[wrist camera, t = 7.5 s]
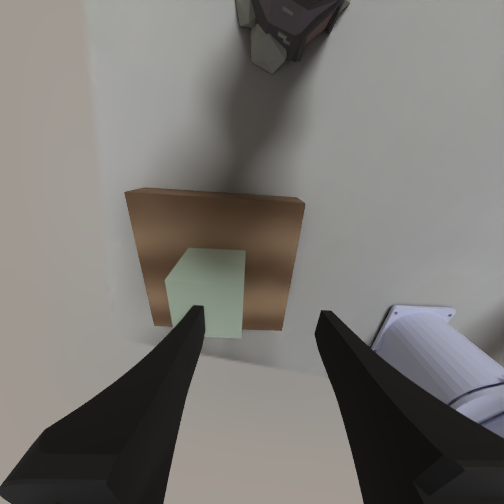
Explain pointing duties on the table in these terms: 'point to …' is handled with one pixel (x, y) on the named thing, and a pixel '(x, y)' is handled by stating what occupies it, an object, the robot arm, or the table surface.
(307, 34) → the model tower
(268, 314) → the walnut plinth
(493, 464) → the robot arm
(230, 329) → the sage cube
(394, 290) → the table surface
